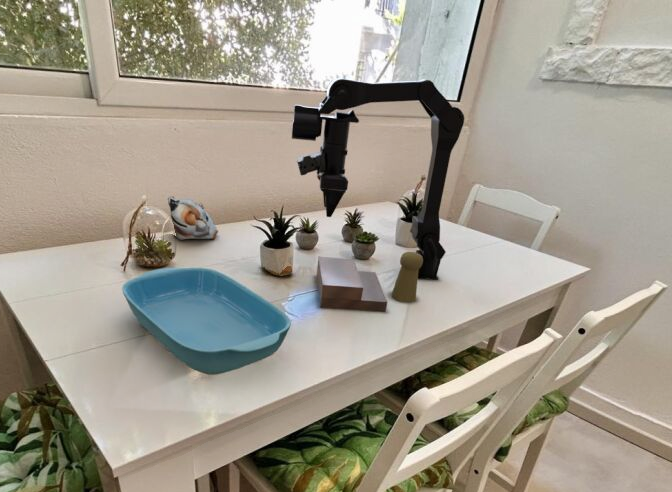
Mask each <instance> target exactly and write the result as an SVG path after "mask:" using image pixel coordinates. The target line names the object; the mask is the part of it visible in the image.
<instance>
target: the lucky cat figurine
mask: <svg viewBox="0 0 672 492" xmlns="http://www.w3.org/2000/svg"><path fill="white" fill-rule="evenodd" d="M167 204H168V206H169V209H170V218H171V219H172V222H173V224H174V229H175V233H176V237H175V238H176V239H178V240H180V241H183V240H189V239H195V240H196V239H198V240H199V239H205V240H206V239H207V240H208V239H209V240H215V239H216V237H217V234H218V233H219V230H218V228H217V227H216V224H214V222H213V221H212V218H211V216H210V215H209V214H208V213H207V212H206V211H205V209H204V208H205V207H204V205H203V203H197V202H195V201H194V200H191V199H190V198H185V197H182V198H178V199H176V198H175V197H174V195H173V196H172V195H171V196H168V197H167Z"/></svg>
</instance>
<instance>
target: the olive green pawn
mask: <svg viewBox="0 0 672 492" xmlns="http://www.w3.org/2000/svg"><path fill="white" fill-rule="evenodd" d="M422 263H423V257H422V256H421V255H420V254H418V253H416V251H405V252H404V253H402V255H401V256H400V259H399V264H400V265H401V266H400V269H399V272H398V274H397V277H396V280H395V283H394V286H393V288H392V290H391V291H392V292H391V295H390V297H391V298H392V299H393V300H394V301H397V302H400V303H406V304H408V303H409V304H410V303H414V302H415V301H416V298H417V290H418V289H417V288H418V279H419V278H418V270H419V268H420V267H421V266H422Z"/></svg>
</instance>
